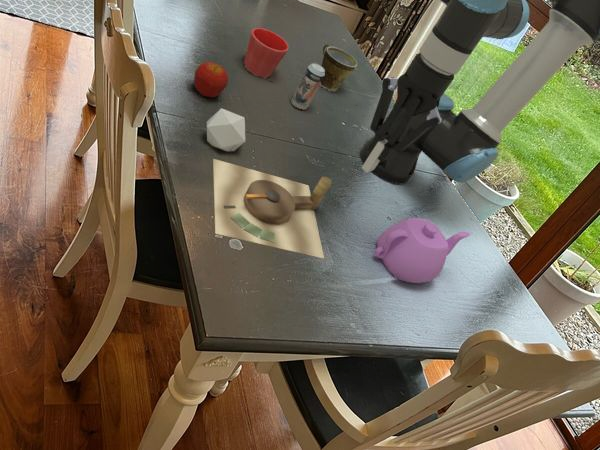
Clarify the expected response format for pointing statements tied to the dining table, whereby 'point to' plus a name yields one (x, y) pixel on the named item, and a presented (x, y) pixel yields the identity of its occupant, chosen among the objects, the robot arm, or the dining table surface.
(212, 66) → the apple
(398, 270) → the teapot
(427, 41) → the robot arm
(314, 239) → the board
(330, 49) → the ceramic cup
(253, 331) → the dining table surface
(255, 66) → the flower pot
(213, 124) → the die
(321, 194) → the dial
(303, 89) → the beer can
